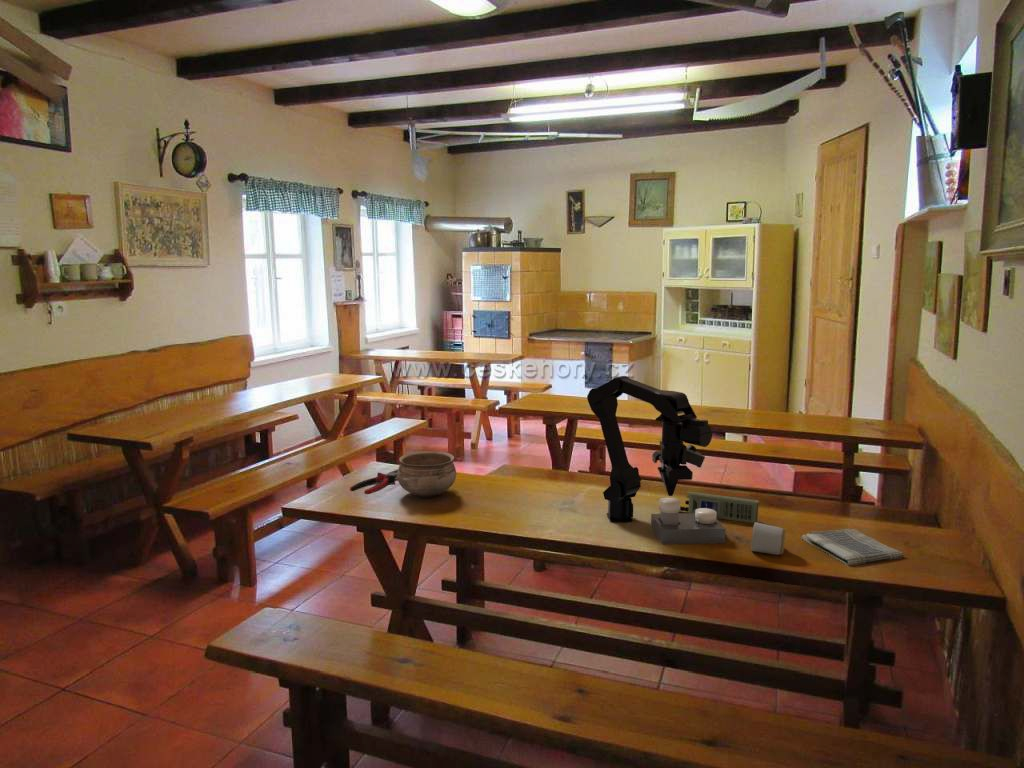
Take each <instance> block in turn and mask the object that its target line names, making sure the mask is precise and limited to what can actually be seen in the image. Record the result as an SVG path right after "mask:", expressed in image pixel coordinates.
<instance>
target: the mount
mask: <svg viewBox="0 0 1024 768" xmlns="http://www.w3.org/2000/svg"><path fill="white" fill-rule="evenodd" d="M650 519H651V520H650V528H651V530H652V531H653V533H654V534H655V536H656V538H657V539H658V541H659V543H660V544H661V545H679V544H680V545H681V544H683V545H684V544H685V545H686V544H690V545H691V544H725V543H726V527H725V526H723V524H722V523H721V522H720V521H719V520H718V518H716V523H715V524H699V523H698V522H697V521H695V513H686V512H684V513H683V512H682V513H681V512H679V523H678V525H663V524H662V523H661V521H660V513H651V515H650Z"/></svg>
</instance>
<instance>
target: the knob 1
mask: <svg viewBox="0 0 1024 768" xmlns="http://www.w3.org/2000/svg"><path fill="white" fill-rule="evenodd" d="M681 503H682V502H681V500H680V499H678V498H676V497H661V498H660V499H659V505H658V510H659V511H660V513H659V514H660V521H661V523H662V524H663V525H678V523H679V513H681V511H680V506H681Z"/></svg>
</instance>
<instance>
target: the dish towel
mask: <svg viewBox="0 0 1024 768" xmlns="http://www.w3.org/2000/svg"><path fill="white" fill-rule="evenodd" d="M802 539H803V540H804V542H805V541H806V542H805V543H807V542H808V543H809V544H808V543H807V544H808V545H810V544H811V546H812V545H814V546H816V547H817V548H819V549H821V550H822V551H821V550H820V551H821V552H823V551H824V552H823V553H825V552H826V553H825V554H827V553H828V554H829V555H828V554H827V555H828V556H830V555H831V556H830V557H832V556H833V557H832V558H834V557H835V558H836V560H837V559H838V560H837V561H839V560H840V561H839V562H841V563H843V564H844V563H845V564H844V565H846V566H847V567H849V566H850V567H851V566H858V565H863V564H865V565H866V564H870V563H877V562H885V561H893V560H896V559H897V560H899V559H903V558H904V557H905V556H904V552H903V551H901V550H897V549H895V548H893V547H890V546H888V545H886V544H884V543H881V542H880V541H879V540H876V539H874V538H872V537H870V536H867V535H866V534H864V533H862V532H860V531H859V530H858V529H856V528H855V529H853V528H845V529H843V528H841V529H837V530H834V529H830V530H829V529H828V530H821V531H816V530H815V531H809V533H807V534H803V535H801V540H802ZM803 540H802V541H803ZM814 546H813V547H814ZM816 547H815V548H816ZM817 548H816V549H817ZM819 549H818V550H819ZM835 558H834V559H835Z"/></svg>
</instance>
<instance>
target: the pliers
mask: <svg viewBox="0 0 1024 768" xmlns="http://www.w3.org/2000/svg"><path fill="white" fill-rule="evenodd" d="M398 469H399V468H398ZM398 469H395V470H392V471H390V472H387V473H382V472H377V475H376V476H375V477H372V478H368V479H365V480H362V481H360V482H358V483H356V484H353V485H352V486H350V487H349V489H350V491H356V490H358V489H360V488H362V487H365V486H367V485H370V484H374V483H377V484H376V485H373V486H371V487H369V488H367V489H365V490H364V494H367V495H368V494H371V493H374V492H376V491H379V490H380V489H382V488H383V487H384V486H386V485H387V484H395V483H396V478H397V472H398Z"/></svg>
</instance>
